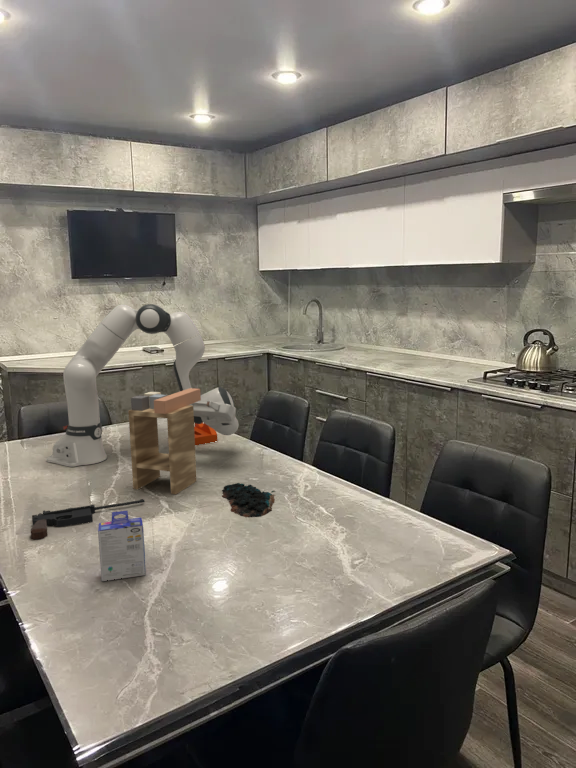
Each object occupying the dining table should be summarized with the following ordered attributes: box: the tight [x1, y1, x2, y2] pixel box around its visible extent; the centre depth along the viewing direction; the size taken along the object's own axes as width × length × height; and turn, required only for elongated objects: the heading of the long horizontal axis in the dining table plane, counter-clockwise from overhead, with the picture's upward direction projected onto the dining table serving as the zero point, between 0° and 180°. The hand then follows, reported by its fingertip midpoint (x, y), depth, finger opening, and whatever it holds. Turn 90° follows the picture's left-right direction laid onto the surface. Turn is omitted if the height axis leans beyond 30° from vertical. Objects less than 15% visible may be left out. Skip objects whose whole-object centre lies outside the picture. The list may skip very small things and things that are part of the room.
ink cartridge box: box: [97, 510, 146, 582], centre depth 135 cm, size 10×6×14 cm, turn 107°
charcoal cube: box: [130, 395, 149, 411], centre depth 189 cm, size 4×4×4 cm
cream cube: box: [143, 391, 162, 406], centre depth 196 cm, size 4×4×4 cm
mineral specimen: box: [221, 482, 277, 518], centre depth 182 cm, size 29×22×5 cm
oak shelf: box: [127, 405, 197, 495], centre depth 193 cm, size 16×13×26 cm
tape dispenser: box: [194, 422, 218, 446], centre depth 251 cm, size 18×13×8 cm
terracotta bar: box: [154, 387, 202, 414], centre depth 193 cm, size 4×22×4 cm, turn 159°
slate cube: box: [149, 394, 168, 409], centre depth 191 cm, size 4×4×4 cm
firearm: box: [30, 498, 146, 540], centre depth 167 cm, size 32×3×15 cm
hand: (196, 402), depth 204 cm, fingers open, 8 cm apart
